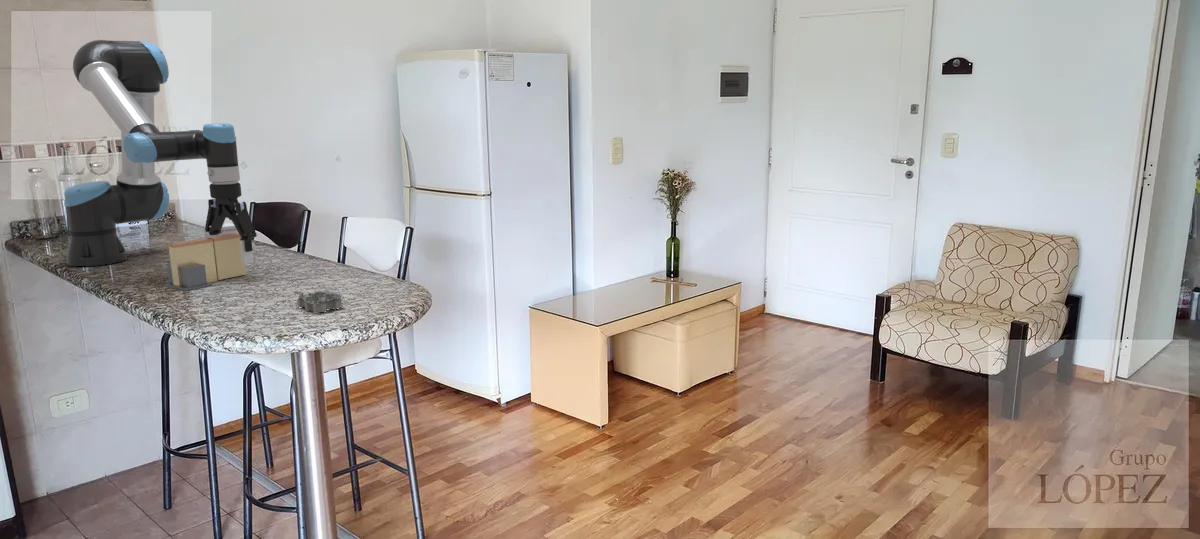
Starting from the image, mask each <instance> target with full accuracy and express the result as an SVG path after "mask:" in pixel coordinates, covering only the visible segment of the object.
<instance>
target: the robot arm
mask: <svg viewBox="0 0 1200 539" xmlns="http://www.w3.org/2000/svg"><path fill="white" fill-rule="evenodd" d="M168 65H169V64H168V62H167V58H166V56H165V54H164V52H163V51H162V49H161V48H160V47H159V46H158V45H156V44H154V43H152V42H145V41H139V40H137V41H136V40H135V41H134V40H106V39H97V40H92V41H89V42H86V43H85V44H84V45H82V46H81V47H80V48H79V49H78V50H77V52H76V53H75V55H74V58H73V61H72V69H73V74H74V77H75V78H76V81H77V82H78V83H79V85H81V87H82V88H83V89H84V90H86V91H88V92H90V93H92V95H93V96H94V98H95V99H96V100H97V101H98V103H99V104H100V105H101V107H102V108H103V110H104V111H105V112H106V114H107V116H109V117H110V119H112V121H113V122H114V125H116V127H117V128H118V129H119V131H120V136H121V137H120V139H121V173H118V175H116V184H113V185H111V183H110V181H107V180H98V181H90V182H83V183H80V184H79V183H78V184H75V185H72V186H69V187H67V188H66V189H65V190H64V192H63V194H64V207H65V210H66V217H67V222H68V223H67V225H68V231H69V235H70V236H69V237H70V240H69V245H68V249H67V253H66V263H67V266H70V267H76V266H86V267H97V266H99V265H100V266H106V265H105V264H107V265H112V263H113V264H117V263H116V262H118V263H122V262H124V260H125V261H126V260H127V259H128V255H127V250H126V249H125V247H124V245H123V243H122V242H121V239H120V237H119V236H118V233H117V226H116V225H119V224H127V223H135V222H136V223H137V222H148V221H153V220H156V219H160V218H162V217H163V216H165V214H166V213H167V211H168V208H169V205H170V195H169V194H170V193H168V191H169V190H168V187H167V185H166V184H165V183H164V182H163V181H161V180H162V179H161V177H159V175H158V174H156V167H155V166H156V164H155V163H160V162H171V161H173V162H174V161H185V160H188V161H191V160H203V159H204V160H205V161H206V167H207V173H206V174H207V175H208V181H209V182H210V184H209V194H210V198H211V199H208V210H207V216H206V222H205V231H206V232H209V234H210V235H211V237H214V236H221V235H222V234H220V233H222V232H221V228H222V226H223V224H225V220H226V219H228V220H230V221H231V223H233V224H234V225H235V227H236V229H237V231H238V232H239V234H240V236H241V238H240V245H241V254H242V263H243V264H245V265H250V264H253V263H254V262H255V261H254V254H253V242H252V241H253V238H256V237H257V236H258V235H257V232H256V230H255V227H254V225H253V222H252V218H251V217H250V213H249V211H248V208H247V203H246V201H239V200H238V198H240V197H241V196H242V187H241V183H240V182H239V181H240V180H241V178H240V177H241V175H240V167H239V160H238V157H239V156H238V148H237V147H238V146H237V136H236V134H235V132H236V131H235V127H234V126H233V124H231V123H205V124H204V125H203V127H202V130H200V129H190V130H184V131H182V130H181V131H179V130H178V131H160V130H159V128H157V126H156V125H155V96H157V95H158V94H159V93H160V92H161V88H160V87H161V85H163V84H166V83H167V81H168V78H169V75H170V71H169V66H168ZM210 226H211V227H210ZM121 261H122V262H121Z"/></svg>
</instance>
